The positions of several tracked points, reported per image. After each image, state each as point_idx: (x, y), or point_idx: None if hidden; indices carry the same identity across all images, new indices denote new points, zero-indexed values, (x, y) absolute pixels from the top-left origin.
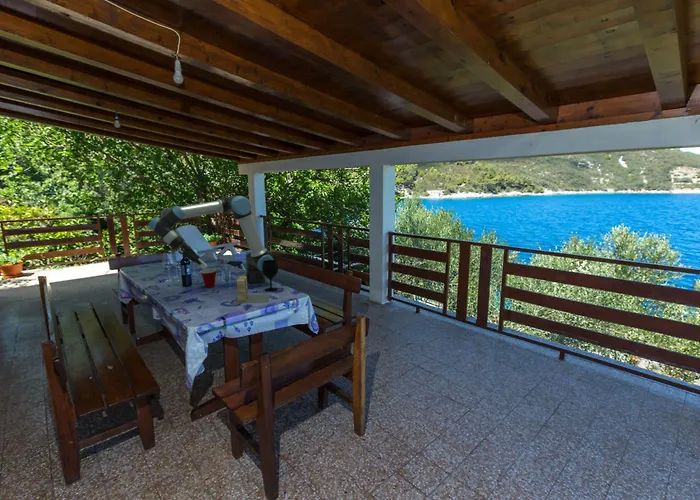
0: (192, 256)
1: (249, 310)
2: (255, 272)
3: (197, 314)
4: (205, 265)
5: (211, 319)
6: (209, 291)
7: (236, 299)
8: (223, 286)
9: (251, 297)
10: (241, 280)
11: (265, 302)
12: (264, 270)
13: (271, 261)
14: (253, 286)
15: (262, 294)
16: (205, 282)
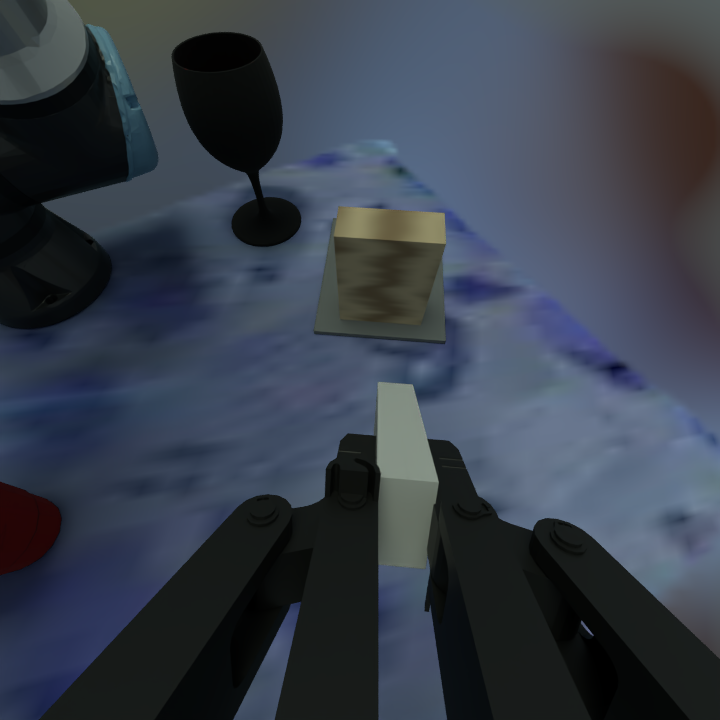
0: (677, 634)
1: (520, 281)
2: (52, 232)
3: (592, 495)
4: (414, 397)
5: (646, 410)
6: (156, 512)
7: (382, 334)
8: (77, 436)
9: None
10: (439, 223)
11: None
12: (264, 129)
13: (180, 61)
14: (165, 284)
15: (329, 244)
16: (9, 562)
